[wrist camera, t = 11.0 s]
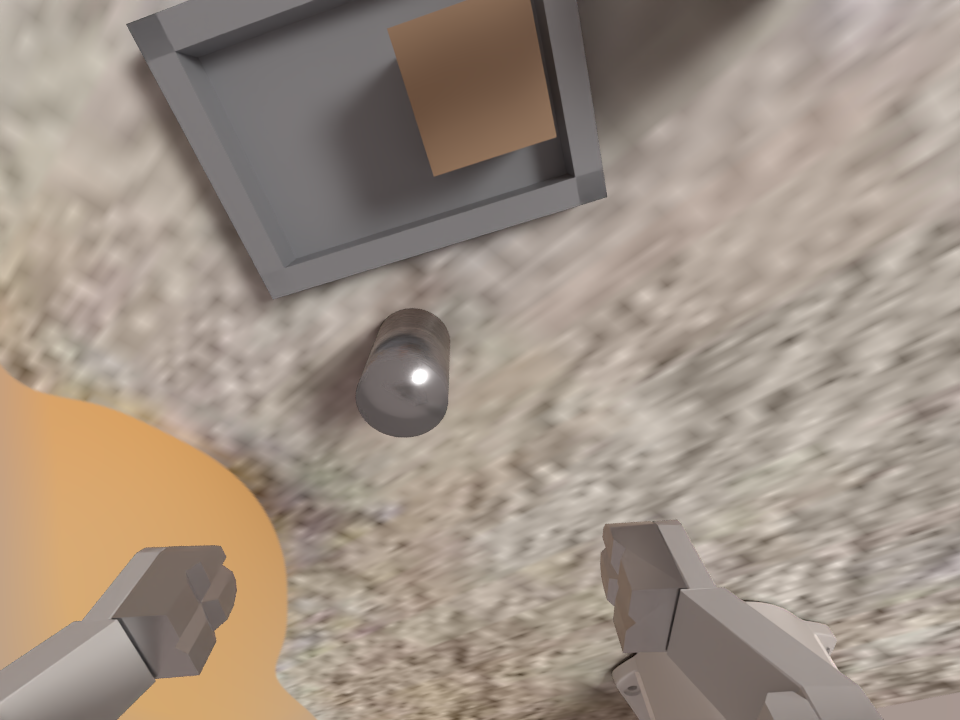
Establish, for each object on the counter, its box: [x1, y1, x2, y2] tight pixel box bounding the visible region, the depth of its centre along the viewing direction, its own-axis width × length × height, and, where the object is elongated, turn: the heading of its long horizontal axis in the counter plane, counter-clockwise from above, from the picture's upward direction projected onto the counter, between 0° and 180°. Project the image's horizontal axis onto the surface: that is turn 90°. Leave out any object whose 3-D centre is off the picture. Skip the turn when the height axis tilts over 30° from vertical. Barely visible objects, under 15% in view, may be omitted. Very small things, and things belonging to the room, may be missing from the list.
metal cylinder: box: [356, 308, 450, 437], centre depth 23 cm, size 4×4×6 cm
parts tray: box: [126, 0, 607, 299], centre depth 19 cm, size 11×16×2 cm
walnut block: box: [387, 0, 557, 176], centre depth 17 cm, size 4×4×5 cm
